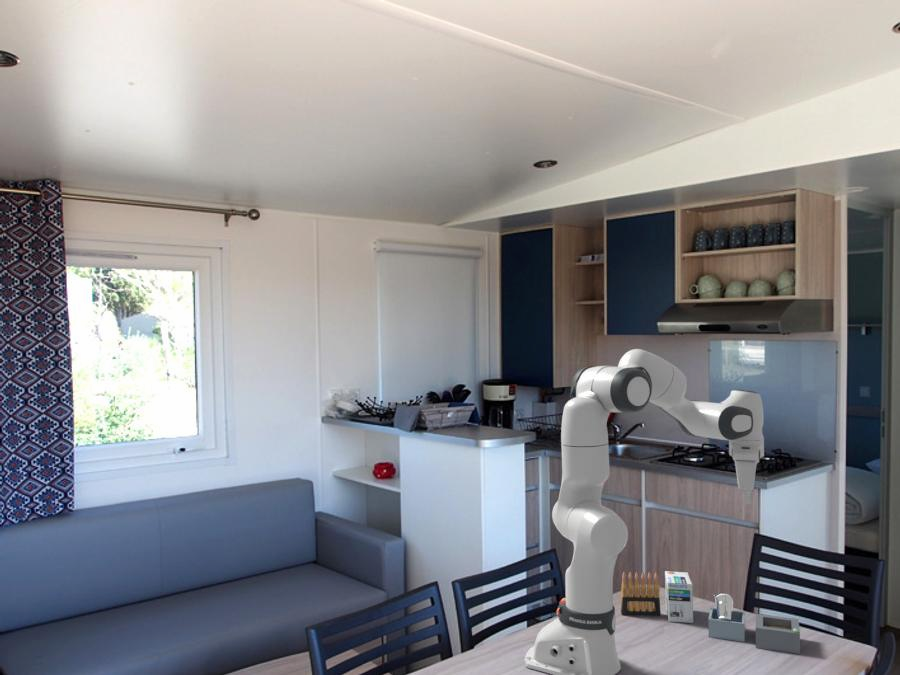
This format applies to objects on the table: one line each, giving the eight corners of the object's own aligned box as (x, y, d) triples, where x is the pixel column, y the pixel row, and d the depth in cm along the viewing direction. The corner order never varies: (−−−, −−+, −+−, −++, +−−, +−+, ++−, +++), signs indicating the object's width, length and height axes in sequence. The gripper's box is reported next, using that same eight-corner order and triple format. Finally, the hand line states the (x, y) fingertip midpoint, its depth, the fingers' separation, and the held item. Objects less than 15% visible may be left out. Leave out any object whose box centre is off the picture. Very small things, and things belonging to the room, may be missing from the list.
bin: (708, 636, 189) (708, 619, 189) (711, 624, 197) (710, 607, 197) (744, 641, 186) (744, 623, 186) (745, 629, 194) (745, 612, 194)
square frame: (755, 647, 182) (755, 625, 182) (756, 632, 192) (756, 611, 192) (800, 654, 178) (799, 631, 178) (798, 638, 188) (798, 616, 188)
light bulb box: (693, 623, 198) (693, 584, 198) (668, 622, 200) (667, 582, 200) (689, 609, 209) (688, 571, 209) (664, 608, 210) (664, 570, 210)
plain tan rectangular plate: (764, 636, 183) (764, 633, 183) (764, 627, 189) (764, 624, 189) (790, 640, 181) (790, 636, 181) (790, 631, 187) (790, 627, 187)
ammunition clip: (621, 615, 205) (621, 572, 205) (620, 612, 207) (620, 570, 207) (660, 616, 204) (660, 573, 204) (659, 613, 206) (658, 571, 206)
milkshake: (711, 625, 190) (711, 600, 199) (732, 630, 189) (731, 604, 198) (713, 612, 189) (713, 586, 198) (735, 616, 187) (734, 591, 196)
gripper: (735, 443, 210) (736, 491, 210) (732, 454, 191) (733, 507, 191) (759, 444, 207) (760, 493, 207) (758, 455, 188) (759, 509, 188)
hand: (747, 500), depth 199 cm, fingers open, 8 cm apart
